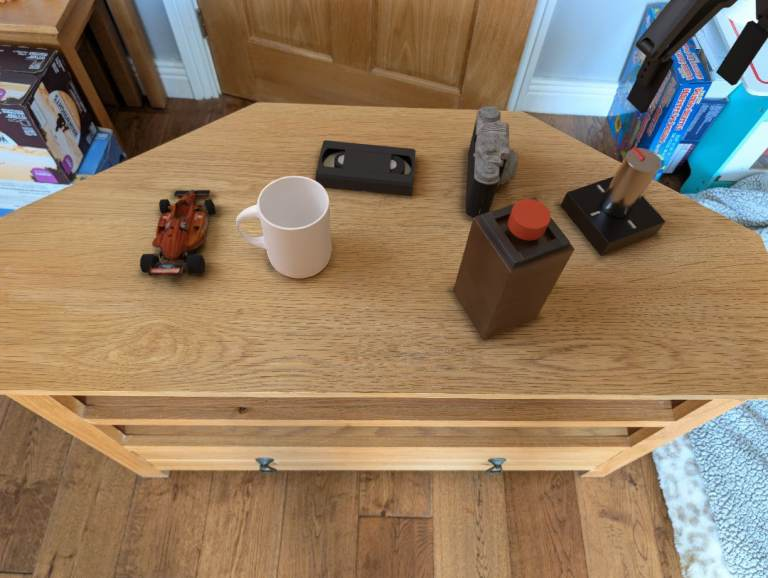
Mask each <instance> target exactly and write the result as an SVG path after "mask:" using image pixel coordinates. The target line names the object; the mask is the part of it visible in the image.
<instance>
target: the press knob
mask: <svg viewBox="0 0 768 578" xmlns="http://www.w3.org/2000/svg"><path fill="white" fill-rule="evenodd" d="M515 203H516V204H515ZM515 203H514V204H515V205H514V206H513V208H512V211H511V214H510V217H509V219H508V227H509V229H510V231H511V232H512V233H513V234H514V235H515V236H516V237H518V238H520V239H523V240H536V239H539V238H540V237H542V236H543V234H544V233H545V230H546V228H547V226H548V224H549V222H550V219H551V218H552V215H551V211H550V210H549V208H548V207H547V205H545V204H544V203H543V202H540V201H539V200H538V201H536V200H532V199H529V198H524V199H521V200H518V201H517V202H515Z"/></svg>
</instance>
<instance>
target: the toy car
mask: <svg viewBox="0 0 768 578" xmlns="http://www.w3.org/2000/svg"><path fill="white" fill-rule="evenodd" d="M210 193H211V190H210V189H197V190H194V189H191V190H175V192H174V194H173V196H174V197H180V196H181V198H179V199H178V200H176V201H175V203H174V204H173V205H172V204H171V203H170V200H169V199H168V198H163V199H161V198H160V199H159V203H158V207H159V212H160V214H161V215H160V217H159V218H158V219H159V220H158V222H157V226H156V229H155V230H156V231H155V238H154V239H153V240H152V243H151V244H152V246H153V247H154V248H159V249H160V251H159V253H156V252H155V253H143V254H142V255H141V256H140V259H139V267H140V270H141V272H142V273H143V274H148V275H149V276H150V277H151V276H152V275H168V276H171V277H172V276H176V275H179V276H180V277H182V275H183V273H184V269H186V270H187V273H188V274H189V275H203V273H204V272H205V269H206V261H205V257H204V256H203V254H197V251H198V248H199V246H201V245H203V244H204V243H205V242H206V239H207V237H206V236H207V235H206V233H207V228H208V224H209V223H208V222H209V217H208V215H213V214H216V213H217V209H216V205H215V202H214V201H213V199H212V198H207V199H204V201H203V202H204V205H201V204H196V196H200V197H201V196H210ZM203 207H205V209H206V211H207V213H206V212H203V211H200V210H201V209H202V208H203ZM207 214H208V215H207ZM163 256H164V258H166V259H167V260H169V261H167V262H164V263H162V262H160V261H161V260H160V259H162V257H163ZM184 256H185V258H186V262H185V259H182V258H183V257H184Z"/></svg>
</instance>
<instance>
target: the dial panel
mask: <svg viewBox="0 0 768 578" xmlns="http://www.w3.org/2000/svg"><path fill="white" fill-rule="evenodd" d="M614 176H615V175H613V176H610V177H607V178H604V179H602V180H598V181H594V182H593V183H590V184H587V185H584V186H581V187H579V188H575V189H573V190H569V191H566V193H565V195H564V197H563V200H562V202H561V204H560V207H561V208H562V210H563V211H564V213H565V214H567V216H568V217H569V219H570V220H571V221H572V223H574V225H575V226H576V228H578V230H579V231H580V232H581V234H582V235H583V236H584V237H585V239H586V240H587V241H588V242H589V244H590V245H591V246H592V248H594V250H595V251H596V252H597V254H598V255H599V256H600V257H602V256H604V255H607V254H610V253H613V252H614V251H617V250H620V249H624V248H625V247H628V246H631V245H633V244H636V243H638V242H641V241H643V240H647V239H649V238H651V237H654V236H656V235H658V233H659V232H660V230H661V229H662V228H663V226H664V225H665V224H666V222H667V221H666V219H664V218H663V216H662V215H660V213H659V212H658V211H657V210H656V208H654V207H653V205H652V204H651V203H650V202H649V201H648V200H647V199H646V198H645V197H644V195H642V196H641V198H640V200H639V201H638V203H637V204H636V206H635V207H634V209H633V210H632V212H631V214H630V215H629V216H627V217H624V218H615V217H612V216H610V215H608V214H607V213H606V212H604V210H603V209H602V207H601V199H602V198H603V196H604V194H605V192H606V190H607V189H608V187H609V185H610V183H611V181H612V180H613V178H614Z"/></svg>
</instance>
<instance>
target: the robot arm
mask: <svg viewBox="0 0 768 578" xmlns="http://www.w3.org/2000/svg"><path fill="white" fill-rule="evenodd" d="M738 1H739V0H669V1H668V2H667V4H666V5H665V6H664V8H663V9H662V10H661V11H660V12H659V14H658V15H657V16H656V17H655V19H654V20H653V21H652V22H651V24H650V25H649V26H648V27H647V28H646V29H645V31H644V32H643V33H642V35H641V36H640V37H639V38H638V40H636V42H635V47H636V48H637V50H639V51H640V52H641V53H642V54H643V55H644V56H645V57H644V59H643V61H642V64H641V66H640V68H639V69H638V70H639V71H638V72H637V73H636V77H635V81H634V83H633V85H632V87H631V89H630V91H629V93H628V95H627V97H626V101H628V102H629V103H630V104H631V105H632V106H633V107H634V108H635V109H636V110H637V111H638V112H639V113H640V114H644V113H647V112H648V110H649V109H650V107H651V105H652V103H653V101H654V99H655V98H656V96H657V94H658V92H659V91H660V88H661V86H662V85H663V83H664V81H665V80H666V77H667V75H668V74H669V72H670V70H671V68H672V67H673V65H674V63H675V60H674V59H673V58H672V57H673V56H674V55H675V54H676V53H677V52H678V51H679V50H680V49H681V48H683V47H684V46H685V45H686V44H687V43H688V42H689V41H690V40H691V39H692V38H693V37H694V36H695V35H696V34H697V33H699V32H700V31H701V29H702V28H704V27H705V26H706V25H707V24H708V23H709V22H710V21H711V20H712V19H713V18H714V17H715V16H717V15H718V14H719V12H721V11H722V10H723V9H728V8H731V7H733V6H734V5H735V4H736V3H737V2H738ZM755 20H756V21H757V22H756V21H754V20H753V19H752V20H748V21H747V22H746V24H745V26H744V27H743V29H742V30H741V32H740V33H739V35H738V36H737V38H736V39H735V41H734V43H733V44H732V46H731V47H730V49H729V51H728V52H727V54H726V56H725V57H724V59H723V60H722V61H721V63H720V65H719V66H718V68H717V70H716V71H715V73H716V74H717V75H718V76H720V77H721V78H722V79H723V80H724V81H725V82H726V83H728V84H729V85H730V86H731V87H732V86H735V85H737V84H738V83H739V81H740V80H741V78H742V77H743V76H744V73H745V72H746V71H747V69H748V68H749V66H750V65H751V64H752V62H754V59H755V58H756V56H757V55H758V53H759V52H760V50H761V49H762V47H763V46H764V44H765V43H766V41H767V40H768V0H755Z"/></svg>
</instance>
